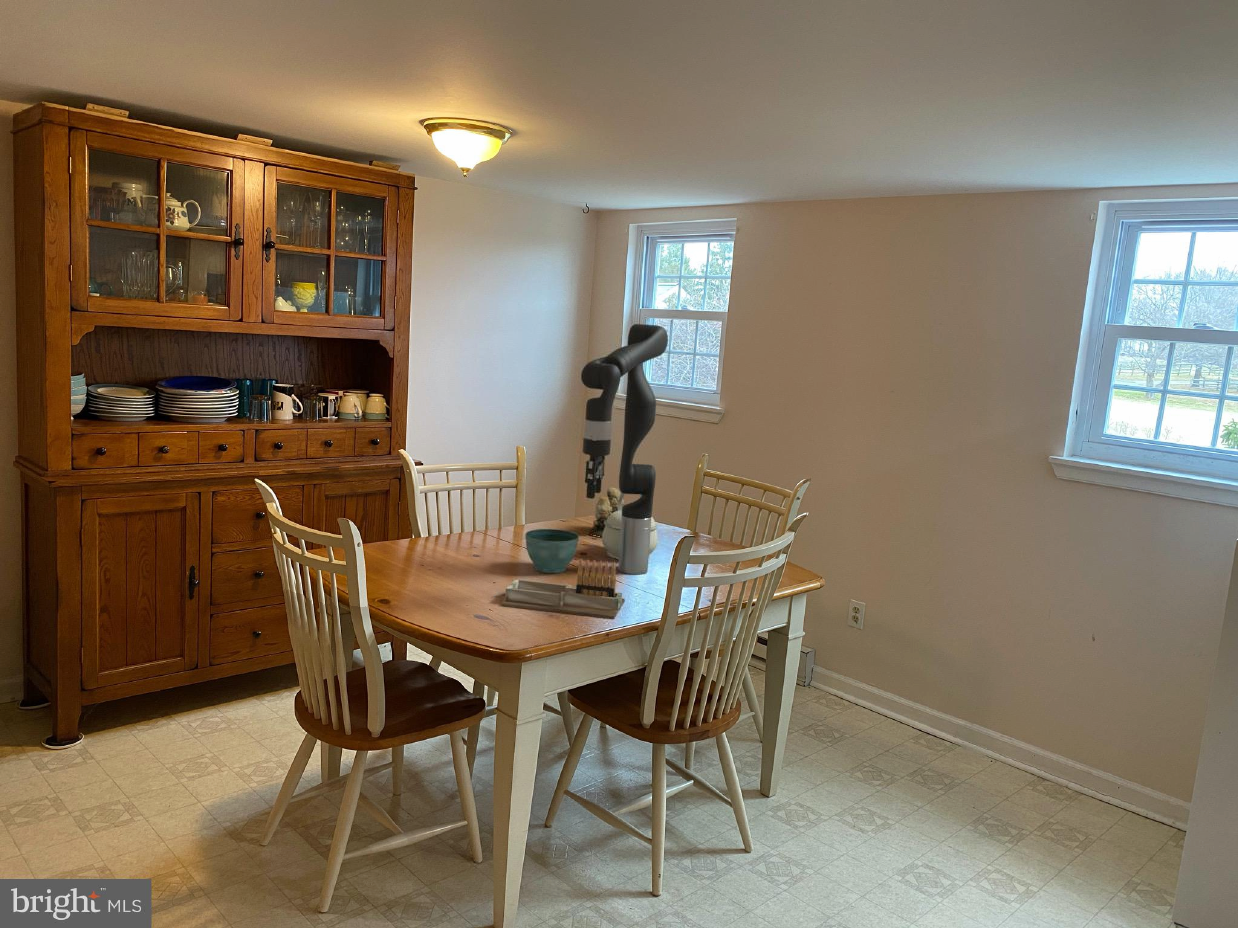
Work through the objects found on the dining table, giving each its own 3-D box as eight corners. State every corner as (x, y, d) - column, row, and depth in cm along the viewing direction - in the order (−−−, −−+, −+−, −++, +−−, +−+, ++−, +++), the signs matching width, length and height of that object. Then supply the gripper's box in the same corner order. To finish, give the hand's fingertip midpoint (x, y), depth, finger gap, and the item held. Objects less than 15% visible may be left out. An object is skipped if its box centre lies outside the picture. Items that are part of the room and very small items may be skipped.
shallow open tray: (518, 589, 256) (519, 576, 256) (624, 601, 252) (625, 588, 251) (501, 605, 241) (502, 591, 240) (614, 618, 236) (615, 604, 235)
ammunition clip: (574, 602, 245) (577, 558, 243) (575, 600, 247) (578, 557, 245) (613, 607, 243) (616, 563, 241) (615, 605, 245) (618, 561, 243)
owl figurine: (602, 526, 344) (605, 482, 342) (631, 531, 340) (634, 486, 338) (582, 535, 328) (585, 488, 325) (612, 540, 323) (616, 492, 321)
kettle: (667, 563, 296) (673, 487, 292) (614, 565, 289) (620, 487, 285) (637, 544, 319) (642, 474, 315) (588, 546, 312) (592, 474, 308)
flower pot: (569, 579, 270) (571, 543, 268) (516, 573, 273) (518, 537, 272) (582, 566, 286) (584, 532, 284) (532, 560, 289) (534, 526, 287)
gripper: (589, 433, 257) (585, 489, 260) (578, 438, 243) (574, 498, 246) (615, 435, 256) (611, 492, 259) (605, 441, 242) (602, 501, 245)
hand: (593, 495), depth 252 cm, fingers open, 8 cm apart
